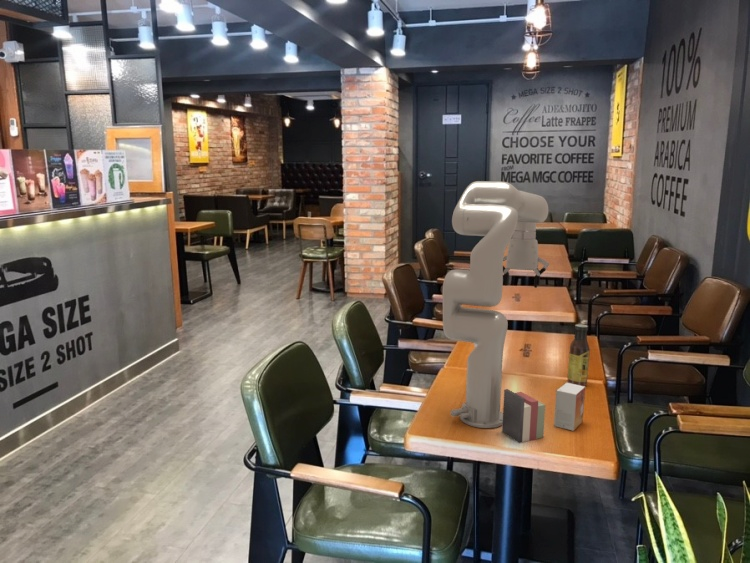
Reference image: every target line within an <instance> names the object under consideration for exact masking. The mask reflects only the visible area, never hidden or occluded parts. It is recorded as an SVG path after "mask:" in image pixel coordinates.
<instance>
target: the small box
mask: <svg viewBox="0 0 750 563" xmlns="http://www.w3.org/2000/svg"><path fill="white" fill-rule="evenodd" d="M585 396H586V386H580V385H576V384H571V383H568V382H565V383H564V384H563V385H562V386H560V387H559V388H557V389H556V391H555V403H554V404H555V406H554V418H553V419H554V421H553V426H554V427H557V428H561V429H564V430H568V431H569V430H570V431H573V432H574V431H575V430H576V429H577V428H578V427H579V426H581V424H582V423H583V420H584V410H585V406H584V405H585V398H586V397H585Z"/></svg>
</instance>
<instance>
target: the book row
mask: <svg viewBox="0 0 750 563" xmlns="http://www.w3.org/2000/svg"><path fill="white" fill-rule="evenodd" d="M502 413H503V425H501V426H502V430H501V433H503V434H504V435H506V436H508V437H509V438H510V439H512V440H514V441H516V442H517V443H518V444H522V443H524V442H525V443H526V442H529V441H532V440H538V439H541V438H544V434H545V433H544V432H545V420H546V419H545V417H546V416H545V414H546V403H545V404H544V403H542V401H539V400H538V399H536V398H534V397H531V396H530V395H528V394H526V393H524V392H522V391H518V392H517V391H516V392H513V391H512V390H509V389H508V388H506V389H504V390H503V408H502Z"/></svg>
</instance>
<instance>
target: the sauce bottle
mask: <svg viewBox="0 0 750 563" xmlns="http://www.w3.org/2000/svg"><path fill="white" fill-rule="evenodd" d="M588 331H589V325H586V324H581V323H580V324H577V323H576V324H574V337H573V338H574V339H573V340H572V341H571V343H570V346H569V355H568V365H567V366H568V367H567V383H571V384H576V385H580V386H584V387H586V386H587V384H588V383H587V382H588V376H589V366H590V365H589V364H590V356H591V355H590V353H591V349H590V346H589V343H588Z"/></svg>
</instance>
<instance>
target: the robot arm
mask: <svg viewBox="0 0 750 563" xmlns="http://www.w3.org/2000/svg"><path fill="white" fill-rule="evenodd" d="M548 215H549V205H548V202H547V200H546V199H545V197H544V196H541V195H538V194H535V193H532V192H527V191H524V190H519V189H517V188H516V187H515V185H513V184H511V183H510V182H507V181H497V180H496V181H492V180H491V181H489V180H488V181H487V180H486V181H484V180H481V181H480V180H477V181H472V182H471V183H469V185H467V187H466V188H465V189H464V190H463V193H462V195H460V198H459V200H458V201H457V203H456V206H455V207H454V209H453V214H452V218H451V225H452V228H453V230H454V232H456V233H457V234H459V235H460V236H461V235H462V236H478V237H482V238H481V239H480V240H479V242H478V243H477V244H475V246H474V247H473V248H472V250H471V252H470V257H469V258H470V260H469V261H470V262H469V263H470V264H469V265H470V266H469V269H460V268H459V269H457V268H456V269H451V270H449V271H448V272H447V273H446V275H445V277H444V279H443V283H442V296H441V297H442V328H443V334H444V336H445V337H446V338H448V339H449V340H451V341H457V342H465V343H471V344H474V343H475V344H477V347H476V348H475V347H474V349H472V351H471V352H470V353H469V355H468V357H467V361H466V364H467V366H466V367H467V368H466V384H465V385H466V386H465V387H466V390H465V394H466V395H465V402H463V403H462V404H461V405H462V406H461V407H460V408H458V409H457V408H455V409H451V410H450V416H451V417H453V418H454V417H459V419H460V420H461V422H462V423H464V424H465V425H468V426H470V427H474V428H478V429H479V428H480V429H493V428H498V427H501V426H502V425H503V411H501V400H502V399H501V397H502V376H503V360H504V359H503V358H504V346H505V343H506V342H505V341H506V336H507V332H508V325H509V324H508V319H507V317H506V316H505V315H504V314H503V313H502V312H500V311H497V310H495V309H487V307H488V308H489V307H490V308H492V307H496V306H498V305H499V304H500V302H501V300H502V297H503V288H504V287H503V285H504V286H509V284H510V272H509V271H510V270H517V271H518V270H519V271H533V272H534V274H535V276H534V281H533V282H534V284H533V287H534V288H537V287H538V286H540V280H541V275H542V274H543V273H544V272H546V270H548V267H549V265H550V262H548V261H547V260H545V259H543V258H541V257H540V256H539V243H538V240H537V239H536V237H537V235H536V234H537V232H536V231H537V224H541V223H543V222H545V221H546V220H547V218H548ZM506 251H507V255H505V252H506ZM504 255H505V256H504ZM504 261H505V262H506V264H505V265H506V266H505V265H504ZM539 264H542V265H543V266H542V268H541V269H539V267H538V266H539ZM503 283H505V284H503ZM462 305H464V306H465V307H464V306H462ZM466 306H474V307H475V306H476V307H483V308H474V307H466ZM484 307H485V308H484Z"/></svg>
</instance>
